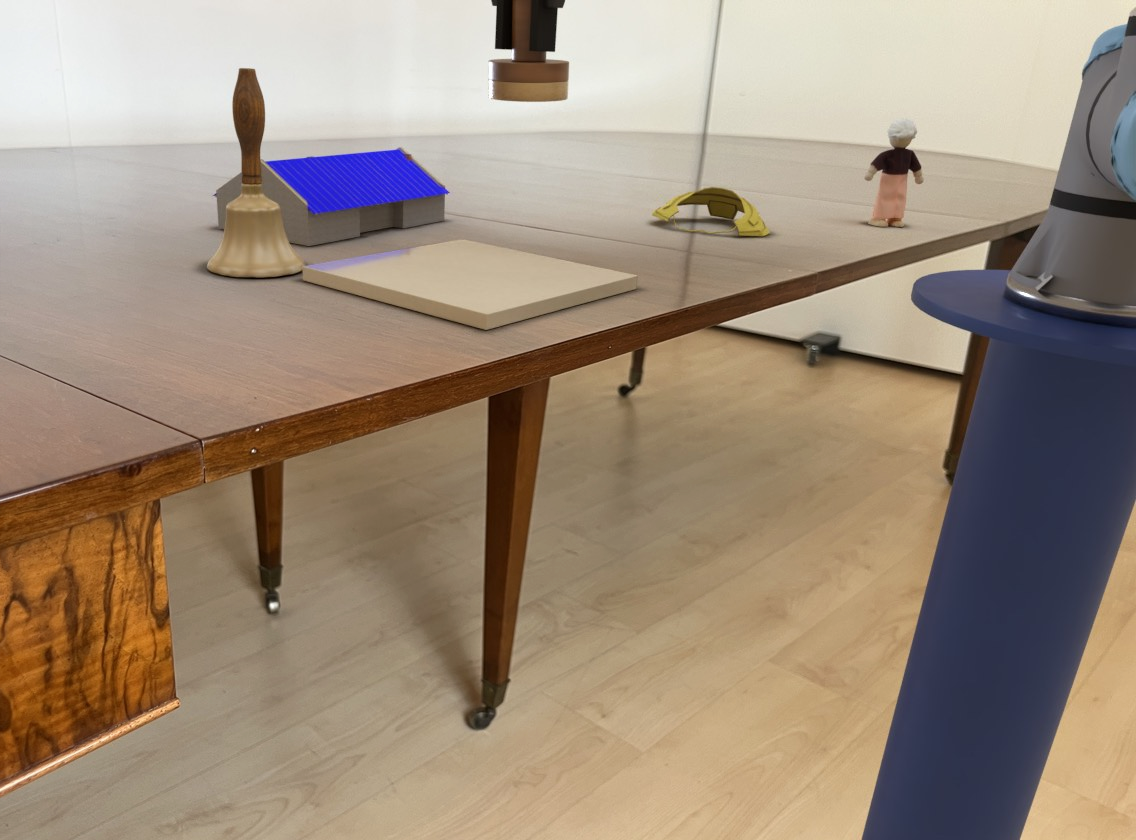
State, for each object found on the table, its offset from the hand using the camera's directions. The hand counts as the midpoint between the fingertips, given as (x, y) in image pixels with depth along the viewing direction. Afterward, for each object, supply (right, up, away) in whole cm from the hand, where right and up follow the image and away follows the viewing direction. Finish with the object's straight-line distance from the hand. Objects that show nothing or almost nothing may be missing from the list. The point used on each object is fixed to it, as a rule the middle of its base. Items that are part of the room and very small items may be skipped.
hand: (524, 49), depth 85 cm
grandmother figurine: (+46, -5, +40) cm, 61 cm away
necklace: (+23, -7, +33) cm, 41 cm away
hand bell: (-23, -19, +1) cm, 30 cm away
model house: (-20, -10, +22) cm, 31 cm away
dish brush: (0, -3, +2) cm, 4 cm away
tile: (-4, -20, -1) cm, 21 cm away
